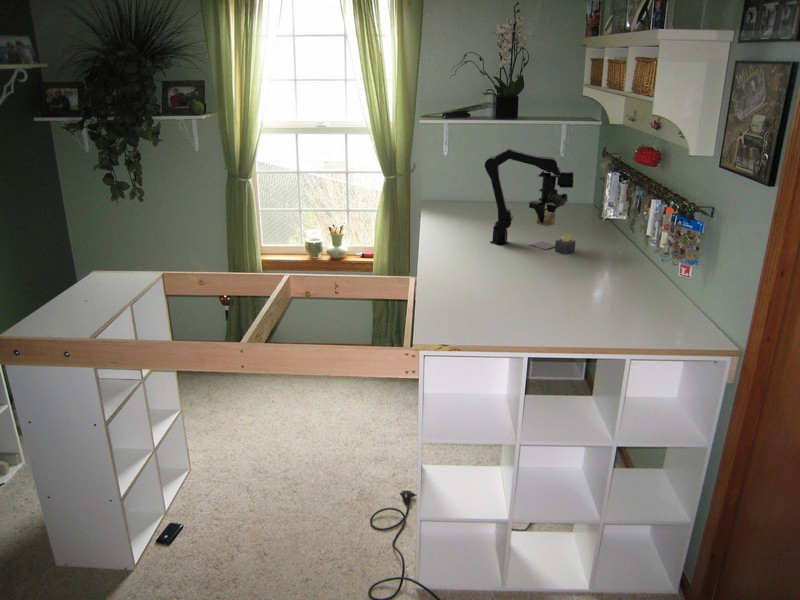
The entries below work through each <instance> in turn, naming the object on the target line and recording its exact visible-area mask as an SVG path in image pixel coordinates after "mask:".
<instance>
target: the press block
mask: <svg viewBox="0 0 800 600" xmlns="http://www.w3.org/2000/svg"><path fill="white" fill-rule="evenodd" d="M561 240H562V238H560V239H556V240H555V247H554V252H556V253H560V254H563V255H569V254H572V253H575V250H576V242H577V241H576V240H574V239H570V242H563V241H561Z"/></svg>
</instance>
